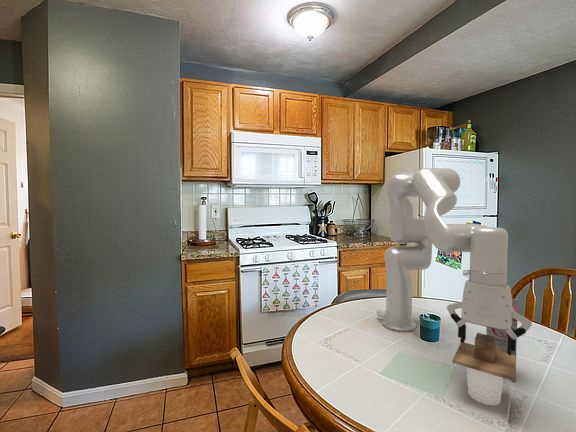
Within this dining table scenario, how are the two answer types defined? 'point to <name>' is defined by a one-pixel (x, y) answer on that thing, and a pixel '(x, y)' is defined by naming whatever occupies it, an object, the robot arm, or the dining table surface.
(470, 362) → the lid
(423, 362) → the mat
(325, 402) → the dining table surface
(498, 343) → the juice carton
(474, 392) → the white cup
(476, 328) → the dining table surface
